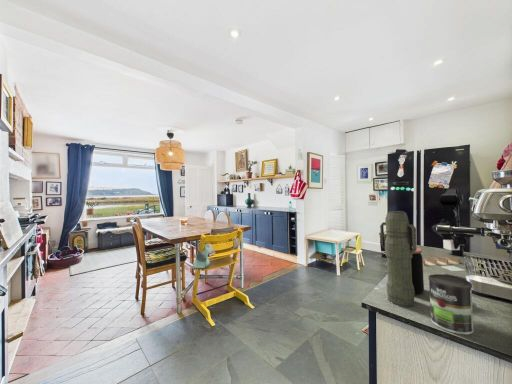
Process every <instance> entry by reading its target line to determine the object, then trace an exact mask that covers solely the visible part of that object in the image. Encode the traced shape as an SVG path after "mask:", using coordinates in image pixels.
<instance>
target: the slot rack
mask: <svg viewBox="0 0 512 384" xmlns="http://www.w3.org/2000/svg"><path fill="white" fill-rule="evenodd" d="M422 260H423V266H438V265H439V266H440V265H441V266H442V265H459V264H460V263H461V261H460V258H458V257H454V256H452V255H449V254H448V255H447V254H445V258H444V257H441V256H438V255H434V258H431V257H428V256H425V255H424V256H423V259H422Z"/></svg>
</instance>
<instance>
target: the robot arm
mask: <svg viewBox="0 0 512 384" xmlns="http://www.w3.org/2000/svg"><path fill="white" fill-rule="evenodd" d="M438 199H439V202H438V208H439V209H440V208H441V209H442V210H441V211H440V213H439V216H440V217H441V218H442V219H441V220H440V222H439V223H437V224H433V225H432V226H431V228H430V230H431V232H432V233H436V234H437V235H439V236H440V237H441V239H442V241H443V240H448V239H449V240H453V242H454V248H455V249H457V248H458V247H459V245H460V250H450V251H451V253H448V256H453V257H454V256H456V257H461V258H463V257H465V255H466V254H464V248H468V246H469V245H468V239H467V238H475V237H474V234H473V235H467V234H441V233H438V232H437V231H436V226H437V225H450V226H455V227H460V228H461V220H460V211H459V209H460V207H461V206H462V203H463V202H464V195H463V192H462V191H459V189H458V188H456V187H454V188H453V187H452V188H450V187H449V188H448V187H447V188H446V189H445V192H443V194H441V195H440V196H439V198H438Z"/></svg>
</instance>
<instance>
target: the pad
mask: <svg viewBox="0 0 512 384" xmlns="http://www.w3.org/2000/svg"><path fill="white" fill-rule="evenodd" d="M440 267H441V268H443V269H446V270H449V271H450V272H465V271H467V270H466V269H464V268H462V267H461V268H460V267H457V266H454V265H445V266H442V265H441V266H440Z"/></svg>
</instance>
